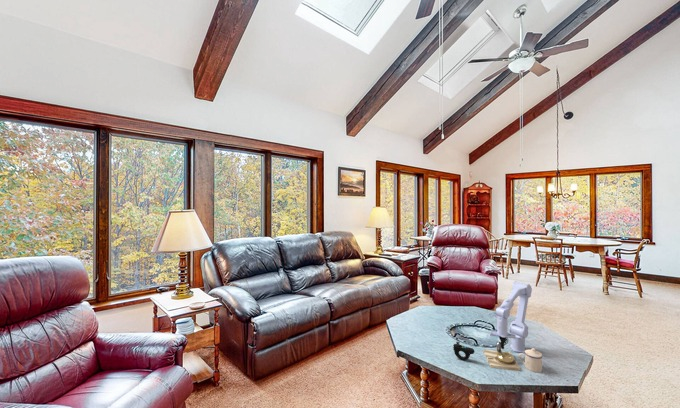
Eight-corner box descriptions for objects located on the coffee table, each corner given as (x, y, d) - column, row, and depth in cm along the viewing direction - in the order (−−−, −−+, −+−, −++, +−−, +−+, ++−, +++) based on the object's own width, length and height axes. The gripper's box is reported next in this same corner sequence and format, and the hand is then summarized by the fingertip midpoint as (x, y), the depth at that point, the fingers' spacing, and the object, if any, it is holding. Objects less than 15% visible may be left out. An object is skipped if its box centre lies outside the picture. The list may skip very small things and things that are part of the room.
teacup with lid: (542, 367, 179) (542, 347, 179) (542, 374, 171) (542, 354, 171) (519, 361, 186) (519, 342, 185) (518, 368, 178) (518, 348, 178)
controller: (454, 355, 193) (454, 339, 193) (474, 361, 186) (475, 344, 186) (452, 358, 190) (452, 342, 189) (473, 364, 183) (473, 347, 182)
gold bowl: (517, 363, 179) (517, 351, 179) (502, 363, 179) (502, 351, 179) (504, 352, 192) (504, 341, 192) (490, 352, 192) (490, 341, 192)
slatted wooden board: (483, 351, 197) (483, 349, 197) (510, 354, 193) (510, 352, 193) (490, 367, 179) (490, 364, 179) (520, 371, 175) (520, 368, 175)
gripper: (490, 327, 189) (490, 349, 189) (516, 330, 184) (516, 353, 185) (488, 323, 196) (488, 344, 196) (514, 326, 191) (514, 347, 191)
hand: (502, 348), depth 191 cm, fingers closed
